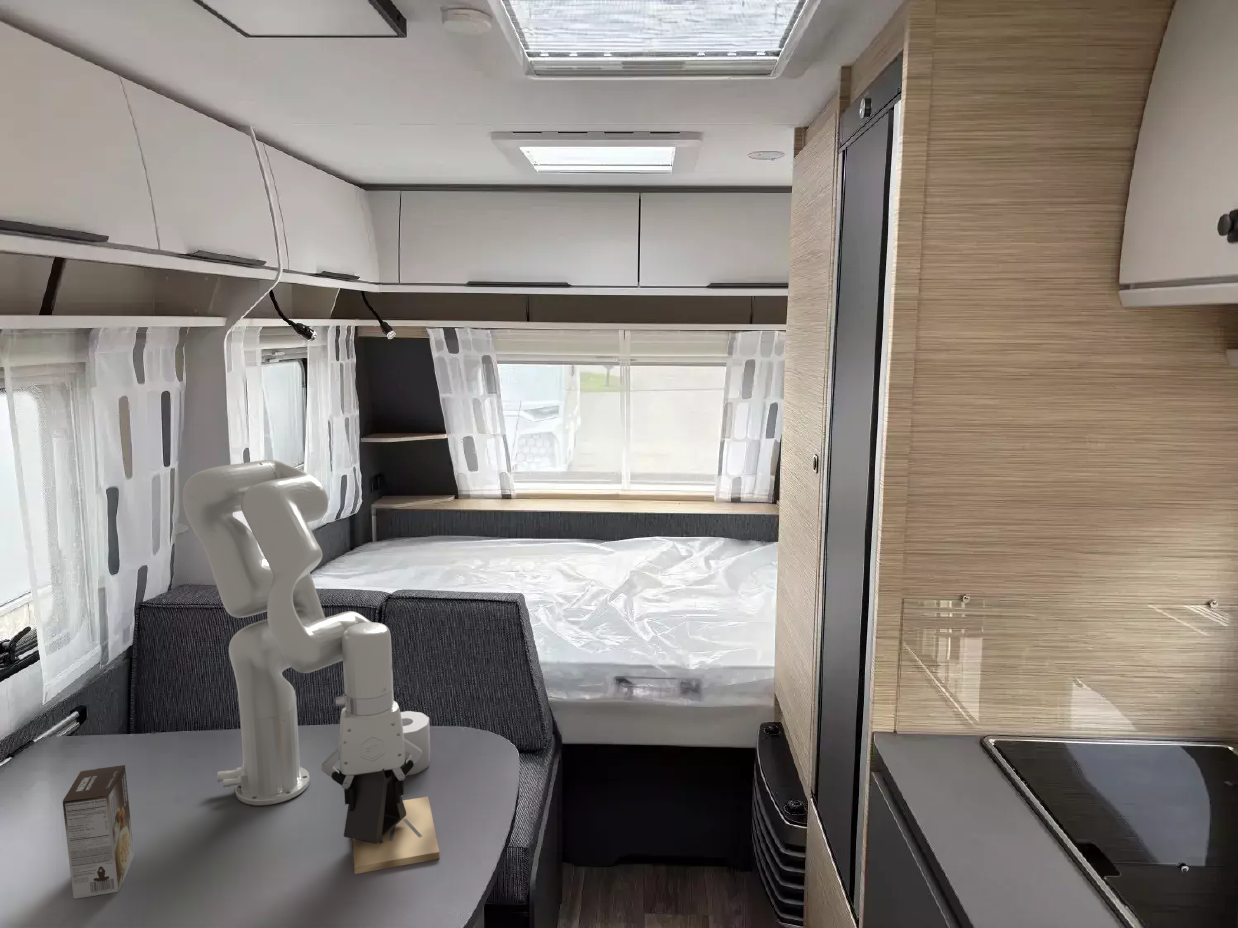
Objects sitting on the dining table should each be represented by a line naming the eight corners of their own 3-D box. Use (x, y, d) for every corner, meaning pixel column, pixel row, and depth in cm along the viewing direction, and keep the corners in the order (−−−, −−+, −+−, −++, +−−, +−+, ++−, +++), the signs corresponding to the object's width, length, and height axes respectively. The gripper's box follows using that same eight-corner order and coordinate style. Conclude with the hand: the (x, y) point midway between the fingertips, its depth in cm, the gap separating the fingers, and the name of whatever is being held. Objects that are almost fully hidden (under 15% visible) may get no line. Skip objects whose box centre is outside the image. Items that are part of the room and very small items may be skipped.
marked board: (354, 873, 135) (354, 866, 135) (352, 814, 151) (351, 808, 151) (439, 858, 139) (439, 851, 139) (428, 802, 155) (428, 796, 155)
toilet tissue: (373, 787, 160) (371, 744, 158) (386, 752, 173) (384, 711, 171) (423, 785, 161) (422, 742, 159) (432, 750, 174) (431, 710, 172)
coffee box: (89, 863, 137) (80, 768, 134) (135, 856, 139) (126, 763, 136) (71, 900, 128) (61, 800, 126) (120, 892, 130) (110, 793, 128)
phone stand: (375, 844, 138) (371, 774, 136) (343, 837, 140) (339, 768, 138) (406, 814, 147) (403, 748, 145) (376, 808, 149) (373, 742, 147)
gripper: (312, 717, 134) (318, 824, 137) (426, 702, 139) (430, 805, 142) (313, 697, 141) (319, 800, 144) (422, 684, 146) (426, 783, 149)
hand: (374, 802), depth 143 cm, fingers closed on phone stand, 6 cm apart
